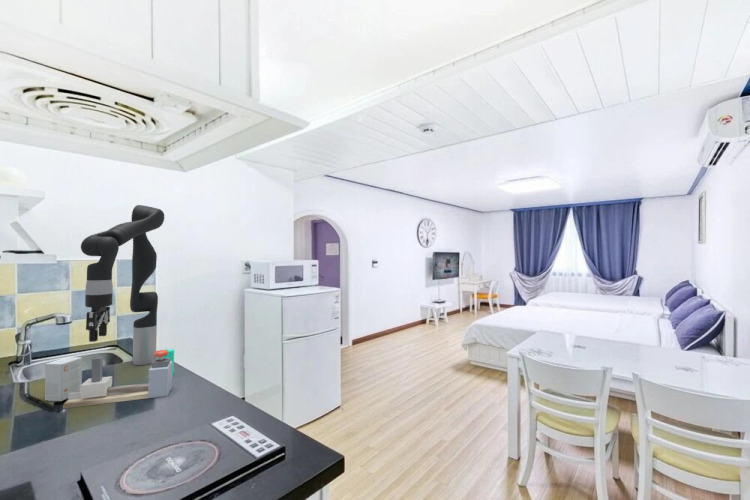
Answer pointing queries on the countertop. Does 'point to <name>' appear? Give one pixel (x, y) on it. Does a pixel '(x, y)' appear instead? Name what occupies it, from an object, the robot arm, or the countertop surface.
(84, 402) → the rail
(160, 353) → the button
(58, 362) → the small box
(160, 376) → the push button housing
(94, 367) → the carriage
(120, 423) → the countertop surface
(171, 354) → the candle
